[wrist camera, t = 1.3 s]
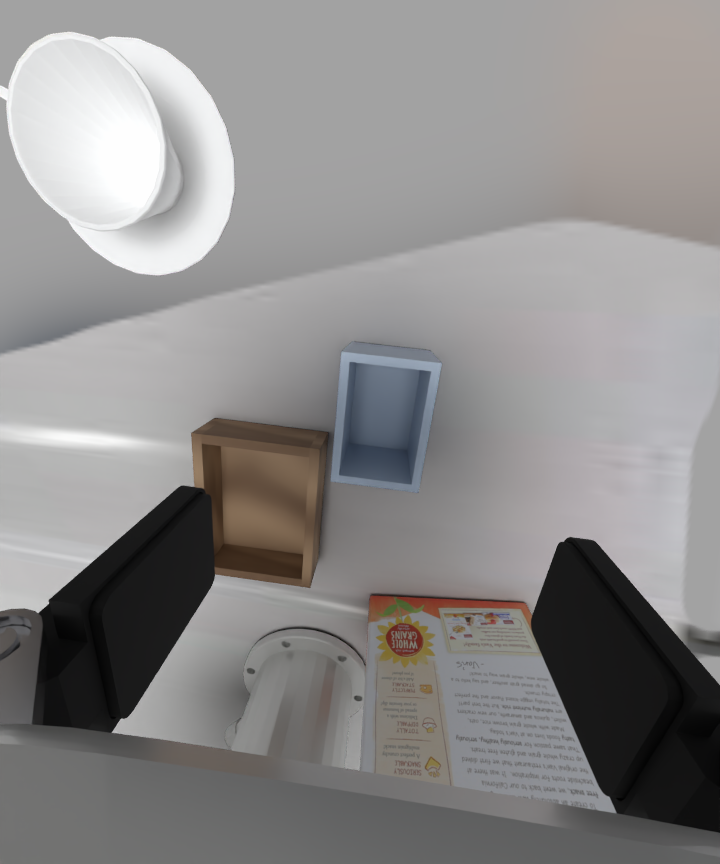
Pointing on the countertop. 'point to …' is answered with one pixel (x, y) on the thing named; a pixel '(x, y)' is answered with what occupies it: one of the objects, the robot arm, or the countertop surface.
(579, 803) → the cracker box
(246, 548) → the walnut crate
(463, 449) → the countertop surface
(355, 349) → the slate crate
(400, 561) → the countertop surface
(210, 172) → the teacup
